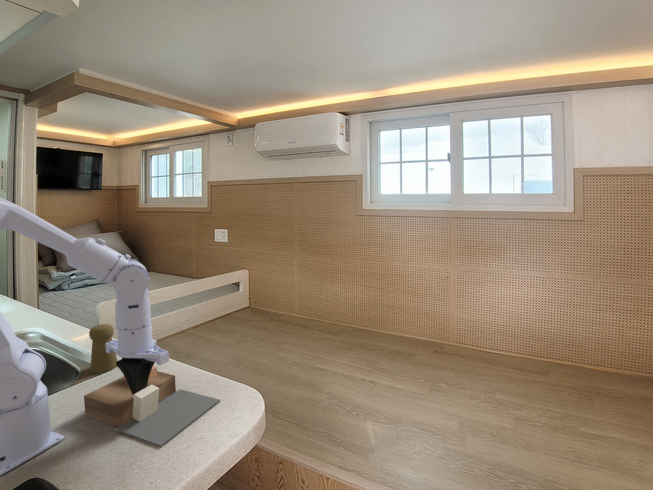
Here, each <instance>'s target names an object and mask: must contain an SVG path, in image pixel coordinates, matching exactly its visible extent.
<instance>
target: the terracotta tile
mask: <svg viewBox="0 0 653 490" xmlns="http://www.w3.org/2000/svg"><path fill="white" fill-rule="evenodd" d="M157 371H158V367H157V366H156V365H153V367H152V369H151V372H150V375H149V379H148V380H150V379H152V378H154V377H156V376H157ZM123 376H124V375H123ZM124 380H126V378H125V376H124Z"/></svg>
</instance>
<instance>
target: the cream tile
mask: <svg viewBox="0 0 653 490" xmlns="http://www.w3.org/2000/svg"><path fill="white" fill-rule="evenodd" d="M158 398H159V388H158V387H156V386H154V385H150V386H148V387H146V388H144V389H143V390H141V391H139V392H137V393H135V394H134V399H133V414H132V418H133V419H135V420H137V421H139V422H141V421H142V420H144V419H145V418H147V417H148V416H150V415H151V414H153V413H154V412H156V411H157V410H158Z"/></svg>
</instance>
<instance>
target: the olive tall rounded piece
mask: <svg viewBox="0 0 653 490" xmlns="http://www.w3.org/2000/svg"><path fill="white" fill-rule="evenodd" d="M114 332H115V328H114V327H113V325H111V324H109V323H104V324H103V323H102V324H97V325H93V327H91V328H90V330H89V332H88V333H89V335H88V336H89V339H90V340H91V341H92V342H91V355H90V373H92V374H104V373H107V372H111V371H113V370H115V369H117V368H118V367H117V366H116V362H117V361H118V357H117V356H118V355H117V354H116V353H114V352H112V353H106V345H105V343H108V342H110V341H113V336H114ZM116 367H117V368H116ZM114 368H115V369H114ZM112 369H113V370H112Z"/></svg>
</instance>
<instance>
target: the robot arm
mask: <svg viewBox="0 0 653 490" xmlns="http://www.w3.org/2000/svg"><path fill="white" fill-rule="evenodd" d="M0 230H9V231H13V232H15V233H18V234H20V235H22V236H24V237H26V238H28V239H31V240H33V241H35V242H37V243H39V244H41V245H44V246H45V247H48V248H50V249H52V250H55V251H57V252H59V253H61V254H63V255H64V256H65V259H66V262H67V265H68V266H69V267H72V268H73V269H76V270H78V271H80V272H82V273H84V274H86V275H88V276H90V277H91V278H94V279H96V280H98V281H100V282H102V283H104V284H111V285H112V288H113V290H114V291H115V296H116V301H115V303H114V307H115V308H114V309H115V319H116V321H115V322H116V330H117V331H116V334H117V339H114V340H113V339H112V340H113V341H110V342H108V343H105V345H106V353H112V352H114V353H116V356H118V357H120V359H119V360H117V362H116V366H117V368H118V369H119V371H121V373H122V374H123V376H125V378H126V380H127V382H128V385H129V388H130V390H131V392H132V395H134V394H135V393H137V392H139V391H141V390H143V389H144V388H146V387H147V383H148V379H149V375H150V372H151V369H152V367H153V366H155V363H156V365H158V366H162V365H164V364H166V363H168V362H170V356H169V355H170V353H169V350H166V349H163V348H161V347H160V346H158V345H157V340H156V339H153V330H152V329H153V328H152V327H153V326H152V312H151V311H152V310H151V300H150V298H149V295H150V290H149V289H148V288H149V287H150V284H151V278H150V275H149V273H148V270H147V269H146V266H145V265H143V264H142V263H141V262H139V260H137V259H134V258H133V259H131V258H132V257H131V255H129V254H127V253H125V255H124V254H122V253H120V252H118V251H117V250H115V249H113V248H111V247H109V246H107V245H105V244H106V241H105V240H104V239H102V238H100V237H99V238H97V239H96V238H92V237H88V236H87V237H84V238H76V237H75V236H72V235H71V234H69V233H68V232H66V231H64V230H63V229H60V228H59V227H57V226H55V225H53V224H52V223H50V222H48V221H46V220H45V219H43V218H42V217H39V216H38V215H36V214H35V213H33V212H31V211H29V210H27V209H26V208H24V207H22V206H20V205H18V204H16V203H13V202H11V201H10V200H7V199H5V198H3V197H0ZM46 369H47V362H46V359H45V358H44V356H43V355H42V354H40V353H39V352H38V351H35V350H33V349H32V348H31V347H30V346H29V344H28V343H27V341H25V340H24V339H22V338H20V337H18V336H17V335H16V333H15V332H14V330H13V329H12V327H11V325H10V324H9V322H8V321H7V319H6V318H5V316H4V315H3V313H2V311H1V310H0V477H1V476H3V475H4V474H6V473H8V472H10V471H11V470H13V469H15V468H17V467H18V466H20V465H21V464H23V463H25V462H27V461H29V460H30V459H32V458H34V457H35V456H38V455H40V453H42V452H44V451H46V450H47V449H50V448H51V447H53V446H55V445H57V444H58V443H60V442H62V441H63V440H64V439H65V436H64V435H62V434H60V433H57V432H55V431H53V430H52V425H51V424H52V423H51V414H50V404H49V394H48V388H47V387H48V386H46V385H45V384H44V383H43V382H42V380H41V378H42V376H43V375H44V373H45V371H46Z"/></svg>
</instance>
